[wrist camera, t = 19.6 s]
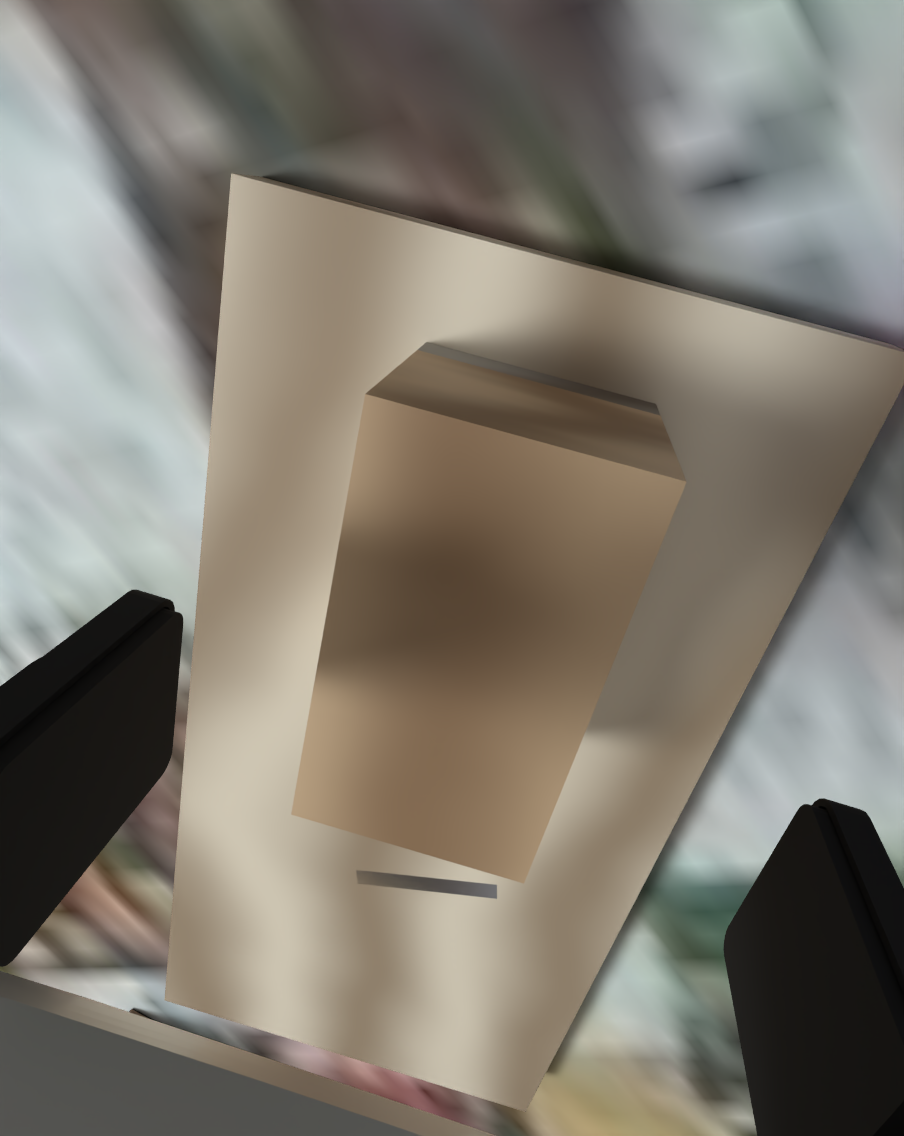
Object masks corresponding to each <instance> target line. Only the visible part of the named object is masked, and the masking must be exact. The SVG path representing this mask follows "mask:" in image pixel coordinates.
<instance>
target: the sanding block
mask: <svg viewBox="0 0 904 1136" xmlns="http://www.w3.org/2000/svg"><path fill="white" fill-rule="evenodd" d="M686 482H687V481H686V479H685V476H684V474H683V471H682V469H681V466H680V464H679V461H678V459H677V456H676V453H675V451H674V448H673V446H672V443H671V441H670V438H669V436H668V433H667V431H666V428H665V426H664V423H663V421H662V418H661V415H660V413H659V410H658V408H657V405H656V404H655V403H651V402H647V401H644V400H640V399H636V398H632V397H629V396H625V395H621V394H618V393H614V392H610V391H606V390H603V389H599V388H595V387H592V386H588V385H584V384H581V383H577V382H573V381H569V380H566V379H562V378H558V377H555V376H551V375H547V374H543V373H540V372H536V371H532V370H529V369H525V368H521V367H517V366H514V365H510V364H506V363H503V362H499V361H495V360H492V359H488V358H484V357H480V356H477V355H473V354H469V353H466V352H462V351H458V350H454V349H451V348H447V347H443V346H440V345H436V344H432V343H429V342H426V343H425V344H424V345H422V346H421V347H420V348H419V349H418V350H416V351H415V352H414V353H413V354H412V355H411V356H409V357H408V358H407V359H406V360H405V361H403V362H402V363H401V364H400V365H399V366H398V367H396V368H395V369H394V370H393V371H392V372H390V373H389V374H388V375H387V376H386V377H385V378H383V379H382V380H381V381H380V382H379V383H377V384H376V385H375V386H374V387H373V388H372V389H370V390H369V391H368V392H367V393H366V394H365V398H364V403H363V409H362V415H361V420H360V426H359V432H358V437H357V443H356V449H355V454H354V460H353V466H352V472H351V477H350V483H349V489H348V494H347V500H346V506H345V511H344V517H343V523H342V528H341V534H340V540H339V545H338V551H337V557H336V562H335V568H334V574H333V579H332V585H331V591H330V596H329V602H328V608H327V613H326V619H325V625H324V630H323V636H322V642H321V647H320V653H319V659H318V664H317V670H316V676H315V682H314V687H313V693H312V699H311V704H310V710H309V716H308V721H307V727H306V733H305V738H304V744H303V750H302V755H301V761H300V767H299V772H298V778H297V784H296V789H295V795H294V801H293V806H292V812H291V815H294V816H297V817H301V818H304V819H308V820H311V821H314V822H318V823H321V824H324V825H328V826H331V827H335V828H338V829H341V830H345V831H348V832H351V833H355V834H358V835H362V836H365V837H368V838H372V839H375V840H378V841H382V842H385V843H389V844H392V845H395V846H399V847H402V848H405V849H409V850H412V851H416V852H419V853H422V854H426V855H429V856H432V857H436V858H439V859H443V860H446V861H449V862H453V863H456V864H459V865H463V866H466V867H469V868H473V869H476V870H480V871H483V872H486V873H490V874H493V875H496V876H500V877H503V878H507V879H510V880H513V881H517V882H520V883H523V884H524V882H525V880H526V877H527V875H528V872H529V870H530V867H531V865H532V862H533V860H534V858H535V855H536V853H537V850H538V848H539V845H540V843H541V840H542V838H543V835H544V833H545V830H546V828H547V825H548V823H549V821H550V818H551V816H552V813H553V811H554V808H555V806H556V803H557V801H558V798H559V796H560V793H561V791H562V788H563V786H564V783H565V781H566V779H567V776H568V774H569V771H570V769H571V766H572V764H573V761H574V759H575V756H576V754H577V751H578V749H579V746H580V744H581V741H582V739H583V737H584V734H585V732H586V729H587V727H588V724H589V722H590V719H591V717H592V714H593V712H594V709H595V707H596V704H597V702H598V700H599V697H600V695H601V692H602V690H603V687H604V685H605V682H606V680H607V677H608V675H609V672H610V670H611V667H612V665H613V662H614V660H615V658H616V655H617V653H618V650H619V648H620V645H621V643H622V640H623V638H624V635H625V633H626V630H627V628H628V625H629V623H630V621H631V618H632V616H633V613H634V611H635V608H636V606H637V603H638V601H639V598H640V596H641V593H642V591H643V588H644V586H645V583H646V581H647V579H648V576H649V574H650V571H651V569H652V566H653V564H654V561H655V559H656V556H657V554H658V551H659V549H660V546H661V544H662V542H663V539H664V537H665V534H666V532H667V529H668V527H669V524H670V522H671V519H672V517H673V514H674V512H675V509H676V507H677V504H678V502H679V500H680V497H681V495H682V492H683V490H684V487H685V485H686Z"/></svg>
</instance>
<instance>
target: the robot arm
mask: <svg viewBox="0 0 904 1136" xmlns="http://www.w3.org/2000/svg"><path fill="white" fill-rule="evenodd" d="M182 632H183V616H182V614H180V613H178V612H175V607H174V604H173V602H172V601H171V600H169V599H165V598H162V597H159V596H156V595H152V594H149V593H146V592H142V591H139V590H131V591H129V592H127V593H126V594H125V595H124V596H122V597H121V598H120V599H118V600H117V601H116V602H114V603H113V604H112V605H110V606H109V607H108V608H106V609H105V610H104V611H102V612H101V613H100V614H98V615H97V616H96V617H95V618H93V619H92V620H91V621H89V622H88V623H87V624H85V625H84V626H83V627H81V628H80V629H79V630H77V631H76V632H75V633H73V634H72V635H71V636H69V637H68V638H67V639H66V640H64V641H63V642H62V643H60V644H59V645H58V646H56V647H55V648H54V649H52V650H51V651H50V652H48V653H47V654H46V655H44V656H43V657H41V658H39V659H37V660H36V661H34V662H32V663H31V664H29V665H28V666H27V667H25V668H24V669H23V670H21V671H20V672H19V673H17V674H16V675H15V676H13V677H12V678H11V679H9V680H8V681H7V682H5V683H4V684H3V685H1V686H0V966H2V967H3V966H6V965H8V964H9V963H10V962H12V961H13V960H14V958H15V957H16V956H17V955H18V954H19V953H20V951H21V950H22V949H23V948H24V946H25V945H26V944H27V943H28V942H29V940H30V939H31V938H32V937H33V935H34V934H35V933H36V932H37V930H38V929H39V928H40V927H41V925H42V924H43V923H44V922H45V920H46V919H47V918H48V917H49V915H50V914H51V913H52V912H53V910H54V909H55V908H56V907H57V905H58V904H59V903H60V902H61V900H62V899H63V898H64V897H65V895H66V894H67V893H68V892H69V890H70V889H71V888H72V887H73V885H74V884H75V883H76V882H77V881H78V879H79V878H80V877H81V876H82V874H83V873H84V872H85V871H86V869H87V868H88V867H89V866H90V864H91V863H92V862H93V861H94V859H95V858H96V857H97V856H98V854H99V853H100V852H101V851H102V849H103V848H104V847H105V846H106V844H107V843H108V842H109V841H110V839H111V838H112V837H113V836H114V834H115V833H116V832H117V831H118V829H119V828H120V827H121V826H122V824H123V823H124V822H125V821H126V820H127V818H128V817H129V816H130V815H131V813H132V812H133V811H134V810H135V808H136V807H137V806H138V805H139V803H140V802H141V801H142V800H143V798H144V797H145V796H146V795H147V793H148V792H149V791H150V790H151V788H152V787H153V786H154V785H155V783H156V782H157V781H158V780H159V778H160V777H161V776H162V774H163V773H164V771H165V770H166V768H167V766H168V763H169V761H170V758H171V755H172V748H173V736H174V725H175V713H176V701H177V690H178V678H179V666H180V655H181V643H182ZM724 957H725V962H726V967H727V973H728V978H729V984H730V989H731V995H732V1000H733V1005H734V1011H735V1016H736V1022H737V1027H738V1033H739V1038H740V1043H741V1049H742V1054H743V1060H744V1065H745V1071H746V1076H747V1081H748V1087H749V1092H750V1098H751V1103H752V1109H753V1114H754V1119H755V1125H756V1130H757V1136H904V888H903V886H902V884H901V882H900V879H899V877H898V875H897V873H896V871H895V869H894V867H893V865H892V863H891V861H890V859H889V857H888V854H887V852H886V850H885V848H884V846H883V844H882V842H881V840H880V838H879V836H878V834H877V832H876V829H875V827H874V825H873V823H872V821H871V819H870V817H869V816H868V815H867V813H866V812H864V811H862V810H860V809H857V808H854V807H850V806H847V805H844V804H840V803H837V802H834V801H830V800H827V799H818V800H817V801H815V802H814V803H813V805H808V804H804V805H802V806H801V807H800V808H799V809H798V811H797V812H796V814H795V816H794V817H793V819H792V821H791V822H790V824H789V826H788V827H787V829H786V831H785V832H784V834H783V836H782V837H781V839H780V841H779V842H778V844H777V846H776V847H775V849H774V851H773V852H772V854H771V856H770V857H769V859H768V861H767V863H766V864H765V866H764V868H763V869H762V871H761V873H760V874H759V876H758V878H757V879H756V881H755V883H754V884H753V886H752V888H751V889H750V891H749V893H748V894H747V896H746V898H745V899H744V901H743V903H742V904H741V906H740V908H739V909H738V911H737V913H736V915H735V916H734V918H733V920H732V921H731V923H730V925H729V926H728V929H727V931H726V935H725V940H724ZM0 1136H496V1135H493V1134H490V1133H487V1132H484V1131H481V1130H478V1129H475V1128H472V1127H469V1126H466V1125H463V1124H460V1123H458V1122H455V1121H452V1120H449V1119H446V1118H443V1117H440V1116H437V1115H434V1114H431V1113H428V1112H425V1111H422V1110H419V1109H416V1108H413V1107H410V1106H408V1105H405V1104H402V1103H399V1102H396V1101H393V1100H390V1099H387V1098H384V1097H381V1096H378V1095H375V1094H372V1093H369V1092H366V1091H363V1090H360V1089H357V1088H354V1087H351V1086H348V1085H345V1084H342V1083H339V1082H337V1081H334V1080H331V1079H328V1078H325V1077H322V1076H319V1075H316V1074H313V1073H310V1072H307V1071H304V1070H301V1069H298V1068H295V1067H292V1066H289V1065H286V1064H283V1063H280V1062H277V1061H274V1060H271V1059H268V1058H265V1057H262V1056H259V1055H256V1054H253V1053H250V1052H247V1051H244V1050H241V1049H238V1048H235V1047H232V1046H229V1045H226V1044H223V1043H220V1042H217V1041H214V1040H211V1039H208V1038H205V1037H202V1036H199V1035H196V1034H193V1033H190V1032H187V1031H184V1030H181V1029H178V1028H175V1027H172V1026H169V1025H166V1024H163V1023H160V1022H157V1021H154V1020H151V1019H148V1018H145V1017H142V1016H139V1015H136V1014H133V1013H130V1012H127V1011H124V1010H121V1009H118V1008H115V1007H112V1006H109V1005H106V1004H103V1003H100V1002H97V1001H94V1000H91V999H88V998H85V997H82V996H78V995H75V994H72V993H69V992H66V991H62V990H59V989H56V988H53V987H49V986H46V985H43V984H40V983H37V982H33V981H30V980H27V979H24V978H21V977H17V976H14V975H11V974H8V973H5V972H1V971H0Z"/></svg>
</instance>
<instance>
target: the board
mask: <svg viewBox="0 0 904 1136" xmlns="http://www.w3.org/2000/svg"><path fill="white" fill-rule="evenodd" d="M426 342H429V343H432V344H436V345H440V346H443V347H447V348H451V349H454V350H458V351H462V352H466V353H469V354H473V355H477V356H480V357H484V358H488V359H492V360H495V361H499V362H503V363H506V364H510V365H514V366H517V367H521V368H525V369H529V370H532V371H536V372H540V373H543V374H547V375H551V376H555V377H558V378H562V379H566V380H569V381H573V382H577V383H581V384H584V385H588V386H592V387H595V388H599V389H603V390H606V391H610V392H614V393H618V394H621V395H625V396H629V397H632V398H636V399H640V400H644V401H647V402H651V403H655V404H656V405H657V408H658V410H659V413H660V415H661V418H662V421H663V423H664V426H665V428H666V431H667V433H668V436H669V438H670V441H671V443H672V446H673V448H674V451H675V453H676V456H677V459H678V461H679V464H680V466H681V469H682V471H683V474H684V476H685V479H686V481H687V482H686V485H685V487H684V490H683V492H682V495H681V497H680V500H679V502H678V504H677V507H676V509H675V512H674V514H673V517H672V519H671V522H670V524H669V527H668V529H667V532H666V534H665V537H664V539H663V542H662V544H661V546H660V549H659V551H658V554H657V556H656V559H655V561H654V564H653V566H652V569H651V571H650V574H649V576H648V579H647V581H646V583H645V586H644V588H643V591H642V593H641V596H640V598H639V601H638V603H637V606H636V608H635V611H634V613H633V616H632V618H631V621H630V623H629V625H628V628H627V630H626V633H625V635H624V638H623V640H622V643H621V645H620V648H619V650H618V653H617V655H616V658H615V660H614V662H613V665H612V667H611V670H610V672H609V675H608V677H607V680H606V682H605V685H604V687H603V690H602V692H601V695H600V697H599V700H598V702H597V704H596V707H595V709H594V712H593V714H592V717H591V719H590V722H589V724H588V727H587V729H586V732H585V734H584V737H583V739H582V741H581V744H580V746H579V749H578V751H577V754H576V756H575V759H574V761H573V764H572V766H571V769H570V771H569V774H568V776H567V779H566V781H565V783H564V786H563V788H562V791H561V793H560V796H559V798H558V801H557V803H556V806H555V808H554V811H553V813H552V816H551V818H550V821H549V823H548V825H547V828H546V830H545V833H544V835H543V838H542V840H541V843H540V845H539V848H538V850H537V853H536V855H535V858H534V860H533V862H532V865H531V867H530V870H529V872H528V875H527V877H526V880H525V882H524V884H523V883H520V882H517V881H513V880H510V879H507V878H503V877H500V876H496V875H493V874H490V873H486V872H483V871H480V870H476V869H473V868H469V867H466V866H463V865H459V864H456V863H453V862H449V861H446V860H443V859H439V858H436V857H432V856H429V855H426V854H422V853H419V852H416V851H412V850H409V849H405V848H402V847H399V846H395V845H392V844H389V843H385V842H382V841H378V840H375V839H372V838H368V837H365V836H362V835H358V834H355V833H351V832H348V831H345V830H341V829H338V828H335V827H331V826H328V825H324V824H321V823H318V822H314V821H311V820H308V819H304V818H301V817H297V816H294V815H291V812H292V806H293V801H294V795H295V789H296V784H297V778H298V772H299V767H300V761H301V755H302V750H303V744H304V738H305V733H306V727H307V721H308V716H309V710H310V704H311V699H312V693H313V687H314V682H315V676H316V670H317V664H318V659H319V653H320V647H321V642H322V636H323V630H324V625H325V619H326V613H327V608H328V602H329V596H330V591H331V585H332V579H333V574H334V568H335V562H336V557H337V551H338V545H339V540H340V534H341V528H342V523H343V517H344V511H345V506H346V500H347V494H348V489H349V483H350V477H351V472H352V466H353V460H354V454H355V449H356V443H357V437H358V432H359V426H360V420H361V415H362V409H363V403H364V398H365V394H366V393H367V392H368V391H369V390H370V389H372V388H373V387H374V386H375V385H376V384H377V383H379V382H380V381H381V380H382V379H383V378H385V377H386V376H387V375H388V374H389V373H390V372H392V371H393V370H394V369H395V368H396V367H398V366H399V365H400V364H401V363H402V362H403V361H405V360H406V359H407V358H408V357H409V356H411V355H412V354H413V353H414V352H415V351H416V350H418V349H419V348H420V347H421V346H422V345H424V344H425V343H426ZM903 385H904V350H903V349H901V348H898V347H896V346H894V345H891V344H889V343H885V342H881V341H877V340H874V339H870V338H866V337H862V336H859V335H855V334H851V333H847V332H844V331H840V330H836V329H832V328H828V327H825V326H821V325H817V324H813V323H810V322H806V321H802V320H798V319H795V318H791V317H787V316H783V315H780V314H776V313H772V312H768V311H764V310H761V309H757V308H753V307H749V306H746V305H742V304H738V303H734V302H731V301H727V300H723V299H719V298H715V297H712V296H708V295H704V294H700V293H697V292H693V291H689V290H685V289H682V288H678V287H674V286H670V285H667V284H663V283H659V282H655V281H651V280H648V279H644V278H640V277H636V276H633V275H629V274H625V273H621V272H618V271H614V270H610V269H606V268H602V267H599V266H595V265H591V264H587V263H584V262H580V261H576V260H572V259H569V258H565V257H561V256H557V255H554V254H550V253H546V252H542V251H538V250H535V249H531V248H527V247H523V246H520V245H516V244H512V243H508V242H505V241H501V240H497V239H493V238H489V237H486V236H482V235H478V234H474V233H471V232H467V231H463V230H459V229H456V228H452V227H448V226H444V225H441V224H437V223H433V222H429V221H425V220H422V219H418V218H414V217H410V216H407V215H403V214H399V213H395V212H392V211H388V210H384V209H380V208H376V207H373V206H369V205H365V204H361V203H358V202H354V201H350V200H346V199H343V198H339V197H335V196H331V195H328V194H324V193H320V192H316V191H312V190H309V189H305V188H301V187H297V186H294V185H290V184H286V183H282V182H279V181H275V180H271V179H267V178H263V177H259V176H250V175H241V174H232V173H231V185H230V197H229V210H228V222H227V234H226V247H225V259H224V271H223V284H222V296H221V309H220V321H219V333H218V346H217V358H216V371H215V383H214V395H213V408H212V420H211V432H210V445H209V457H208V470H207V482H206V494H205V507H204V519H203V531H202V544H201V556H200V569H199V581H198V593H197V606H196V618H195V631H194V643H193V655H192V668H191V680H190V692H189V705H188V717H187V730H186V742H185V754H184V767H183V779H182V791H181V804H180V816H179V829H178V841H177V853H176V866H175V878H174V891H173V903H172V915H171V928H170V940H169V952H168V965H167V977H166V990H165V1000H166V1001H169V1002H172V1003H175V1004H179V1005H182V1006H185V1007H188V1008H192V1009H195V1010H198V1011H201V1012H205V1013H208V1014H211V1015H214V1016H218V1017H221V1018H224V1019H227V1020H230V1021H234V1022H237V1023H240V1024H243V1025H247V1026H250V1027H253V1028H256V1029H260V1030H263V1031H266V1032H269V1033H272V1034H276V1035H279V1036H282V1037H285V1038H289V1039H292V1040H295V1041H298V1042H302V1043H305V1044H308V1045H311V1046H314V1047H318V1048H321V1049H324V1050H327V1051H331V1052H334V1053H337V1054H340V1055H344V1056H347V1057H350V1058H353V1059H357V1060H360V1061H363V1062H366V1063H369V1064H373V1065H376V1066H379V1067H382V1068H386V1069H389V1070H392V1071H395V1072H399V1073H402V1074H405V1075H408V1076H411V1077H415V1078H418V1079H421V1080H424V1081H428V1082H431V1083H434V1084H437V1085H441V1086H444V1087H447V1088H450V1089H453V1090H457V1091H460V1092H463V1093H466V1094H470V1095H473V1096H476V1097H479V1098H483V1099H486V1100H489V1101H492V1102H496V1103H499V1104H502V1105H505V1106H508V1107H512V1108H515V1109H518V1110H521V1111H525V1112H526V1110H527V1108H528V1106H529V1104H530V1102H531V1100H532V1098H533V1096H534V1095H535V1093H536V1091H537V1089H538V1087H539V1085H540V1083H541V1081H542V1079H543V1077H544V1075H545V1073H546V1071H547V1070H548V1068H549V1066H550V1064H551V1062H552V1060H553V1058H554V1056H555V1054H556V1052H557V1050H558V1048H559V1046H560V1045H561V1043H562V1041H563V1039H564V1037H565V1035H566V1033H567V1031H568V1029H569V1027H570V1025H571V1023H572V1022H573V1020H574V1018H575V1016H576V1014H577V1012H578V1010H579V1008H580V1006H581V1004H582V1002H583V1000H584V998H585V997H586V995H587V993H588V991H589V989H590V987H591V985H592V983H593V981H594V979H595V977H596V975H597V973H598V972H599V970H600V968H601V966H602V964H603V962H604V960H605V958H606V956H607V954H608V952H609V950H610V948H611V947H612V945H613V943H614V941H615V939H616V937H617V935H618V933H619V931H620V929H621V927H622V925H623V923H624V922H625V920H626V918H627V916H628V914H629V912H630V910H631V908H632V906H633V904H634V902H635V900H636V898H637V897H638V895H639V893H640V891H641V889H642V887H643V885H644V883H645V881H646V879H647V877H648V875H649V873H650V872H651V870H652V868H653V866H654V864H655V862H656V860H657V858H658V856H659V854H660V852H661V850H662V849H663V847H664V845H665V843H666V841H667V839H668V837H669V835H670V833H671V831H672V829H673V827H674V825H675V824H676V822H677V820H678V818H679V816H680V814H681V812H682V810H683V808H684V806H685V804H686V802H687V800H688V799H689V797H690V795H691V793H692V791H693V789H694V787H695V785H696V783H697V781H698V779H699V777H700V775H701V774H702V772H703V770H704V768H705V766H706V764H707V762H708V760H709V758H710V756H711V754H712V752H713V750H714V749H715V747H716V745H717V743H718V741H719V739H720V737H721V735H722V733H723V731H724V729H725V727H726V725H727V724H728V722H729V720H730V718H731V716H732V714H733V712H734V710H735V708H736V706H737V704H738V702H739V700H740V699H741V697H742V695H743V693H744V691H745V689H746V687H747V685H748V683H749V681H750V679H751V677H752V676H753V674H754V672H755V670H756V668H757V666H758V664H759V662H760V660H761V658H762V656H763V654H764V652H765V651H766V649H767V647H768V645H769V643H770V641H771V639H772V637H773V635H774V633H775V631H776V629H777V627H778V626H779V624H780V622H781V620H782V618H783V616H784V614H785V612H786V610H787V608H788V606H789V604H790V602H791V601H792V599H793V597H794V595H795V593H796V591H797V589H798V587H799V585H800V583H801V581H802V579H803V577H804V576H805V574H806V572H807V570H808V568H809V566H810V564H811V562H812V560H813V558H814V556H815V554H816V552H817V551H818V549H819V547H820V545H821V543H822V541H823V539H824V537H825V535H826V533H827V531H828V529H829V527H830V526H831V524H832V522H833V520H834V518H835V516H836V514H837V512H838V510H839V508H840V506H841V504H842V503H843V501H844V499H845V497H846V495H847V493H848V491H849V489H850V487H851V485H852V483H853V481H854V479H855V478H856V476H857V474H858V472H859V470H860V468H861V466H862V464H863V462H864V460H865V458H866V456H867V454H868V453H869V451H870V449H871V447H872V445H873V443H874V441H875V439H876V437H877V435H878V433H879V431H880V429H881V428H882V426H883V424H884V422H885V420H886V418H887V416H888V414H889V412H890V410H891V408H892V406H893V404H894V403H895V401H896V399H897V397H898V395H899V393H900V391H901V389H902V387H903Z"/></svg>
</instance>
